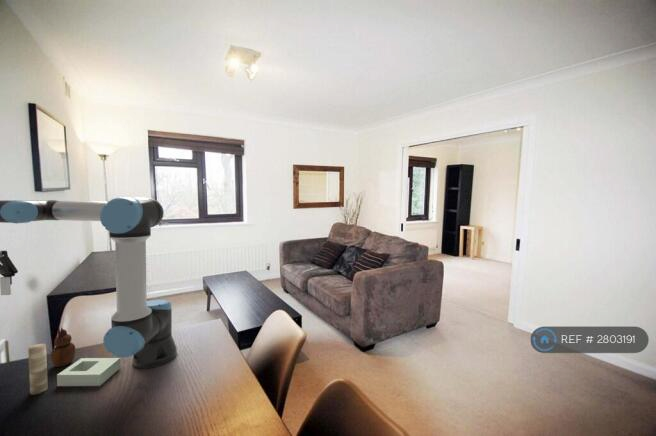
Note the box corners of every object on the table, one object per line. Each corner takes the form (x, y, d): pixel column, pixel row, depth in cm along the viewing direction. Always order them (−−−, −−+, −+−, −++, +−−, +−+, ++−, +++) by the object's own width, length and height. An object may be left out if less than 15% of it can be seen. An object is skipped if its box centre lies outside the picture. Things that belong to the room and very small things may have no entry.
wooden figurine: (59, 370, 103) (58, 330, 102) (47, 368, 104) (45, 329, 103) (79, 360, 110) (78, 323, 109) (67, 358, 111) (66, 321, 110)
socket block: (120, 368, 105) (120, 357, 105) (100, 385, 95) (99, 374, 95) (81, 368, 104) (81, 358, 104) (57, 386, 94) (56, 374, 94)
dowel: (51, 386, 94) (49, 343, 93) (39, 394, 90) (37, 349, 89) (38, 386, 94) (36, 343, 93) (26, 394, 90) (24, 349, 89)
